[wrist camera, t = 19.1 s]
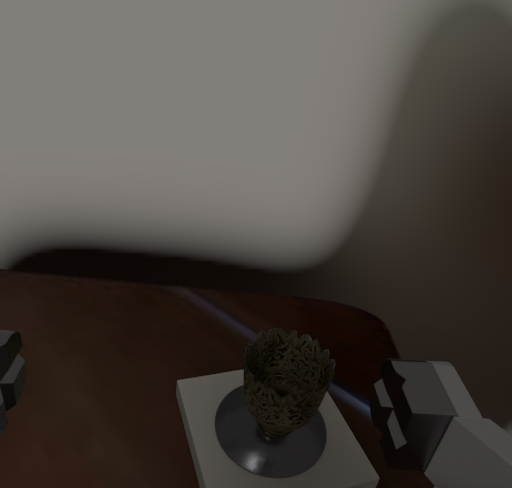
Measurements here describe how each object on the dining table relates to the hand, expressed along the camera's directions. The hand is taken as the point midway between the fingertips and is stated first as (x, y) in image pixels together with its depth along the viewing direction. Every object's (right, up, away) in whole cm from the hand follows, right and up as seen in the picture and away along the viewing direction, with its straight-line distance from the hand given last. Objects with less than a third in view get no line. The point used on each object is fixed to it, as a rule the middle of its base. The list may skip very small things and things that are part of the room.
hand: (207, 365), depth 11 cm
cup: (+3, -13, +31) cm, 34 cm away
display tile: (+2, -15, +32) cm, 35 cm away
